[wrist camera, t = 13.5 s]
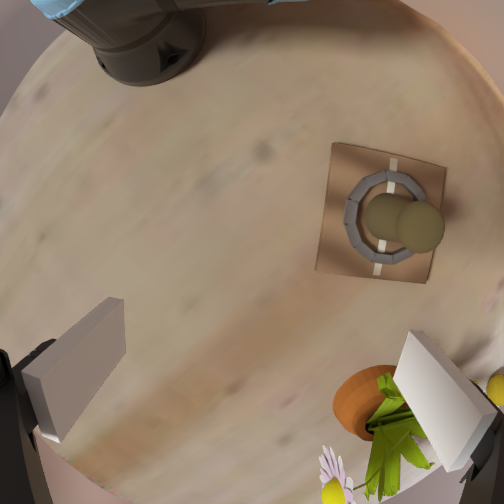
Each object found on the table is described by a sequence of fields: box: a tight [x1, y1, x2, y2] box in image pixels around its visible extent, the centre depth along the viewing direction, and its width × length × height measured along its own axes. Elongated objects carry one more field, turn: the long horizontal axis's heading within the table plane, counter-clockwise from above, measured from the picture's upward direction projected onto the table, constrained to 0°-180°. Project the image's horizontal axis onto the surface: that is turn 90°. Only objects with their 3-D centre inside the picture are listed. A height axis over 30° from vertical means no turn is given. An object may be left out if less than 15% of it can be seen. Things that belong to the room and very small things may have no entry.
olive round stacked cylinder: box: [365, 193, 445, 254], centre depth 32 cm, size 6×6×11 cm
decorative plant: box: [319, 365, 478, 504], centre depth 32 cm, size 27×24×25 cm
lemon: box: [486, 374, 504, 406], centre depth 40 cm, size 6×6×8 cm
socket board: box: [315, 142, 445, 284], centre depth 37 cm, size 16×16×2 cm
